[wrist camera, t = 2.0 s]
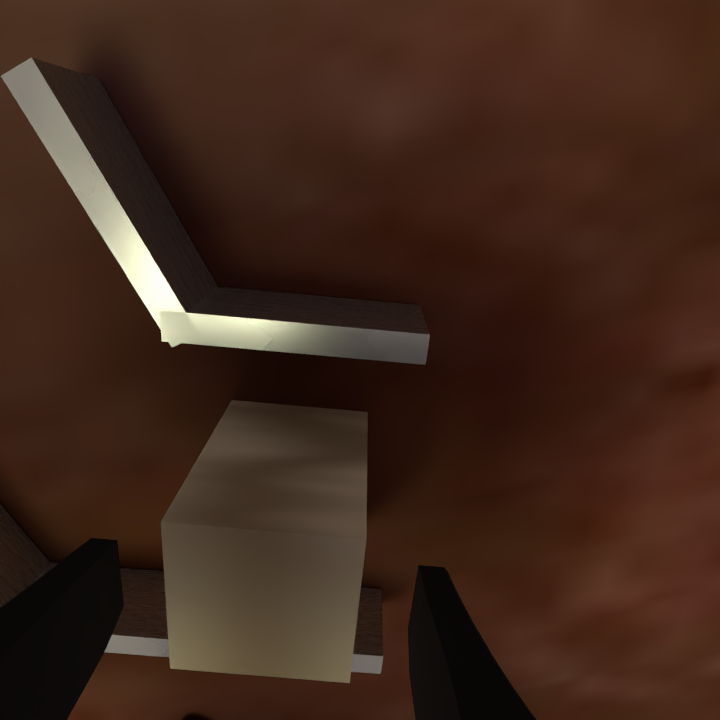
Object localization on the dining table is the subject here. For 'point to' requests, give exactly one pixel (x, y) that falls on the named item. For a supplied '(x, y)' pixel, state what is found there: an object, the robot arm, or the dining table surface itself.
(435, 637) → the robot arm
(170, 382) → the dining table surface
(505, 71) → the dining table surface
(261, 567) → the maple block
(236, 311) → the rail track
